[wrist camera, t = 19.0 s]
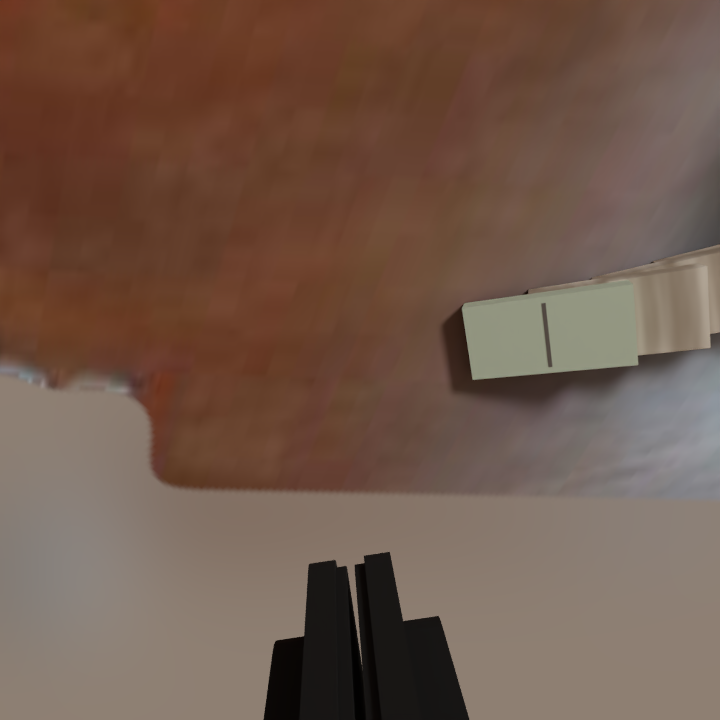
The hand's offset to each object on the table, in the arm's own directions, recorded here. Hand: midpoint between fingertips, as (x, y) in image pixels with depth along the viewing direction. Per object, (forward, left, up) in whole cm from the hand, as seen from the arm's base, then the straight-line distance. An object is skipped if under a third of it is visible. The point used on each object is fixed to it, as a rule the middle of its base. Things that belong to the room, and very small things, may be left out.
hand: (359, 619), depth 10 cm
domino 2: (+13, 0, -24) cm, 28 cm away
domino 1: (+9, -1, -24) cm, 26 cm away
